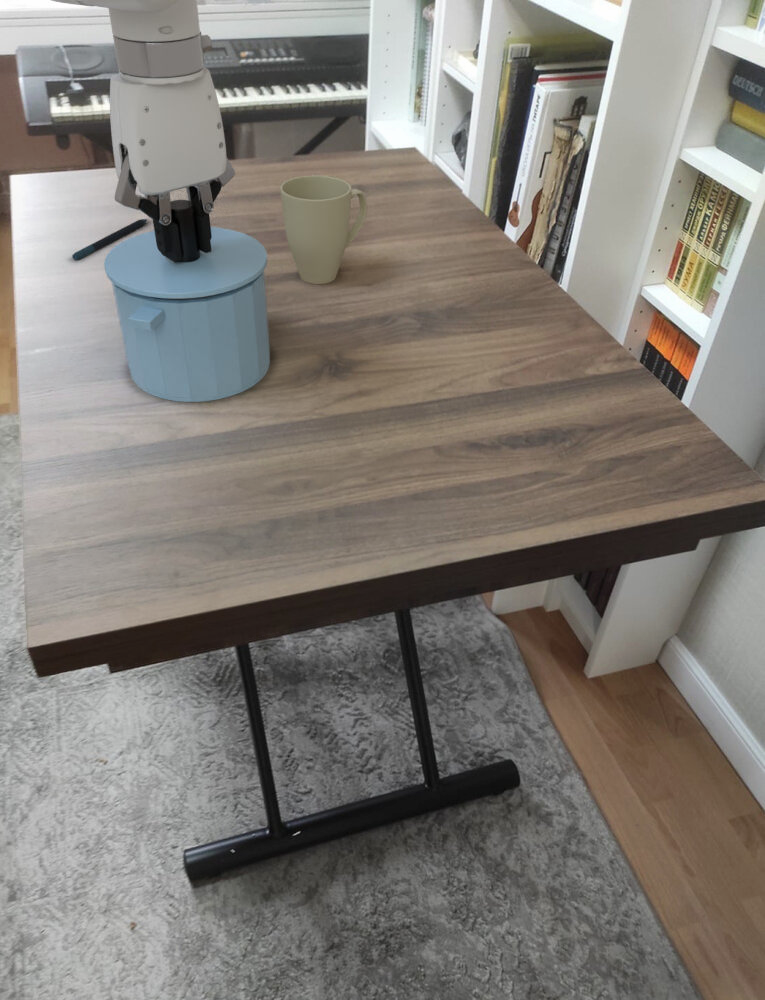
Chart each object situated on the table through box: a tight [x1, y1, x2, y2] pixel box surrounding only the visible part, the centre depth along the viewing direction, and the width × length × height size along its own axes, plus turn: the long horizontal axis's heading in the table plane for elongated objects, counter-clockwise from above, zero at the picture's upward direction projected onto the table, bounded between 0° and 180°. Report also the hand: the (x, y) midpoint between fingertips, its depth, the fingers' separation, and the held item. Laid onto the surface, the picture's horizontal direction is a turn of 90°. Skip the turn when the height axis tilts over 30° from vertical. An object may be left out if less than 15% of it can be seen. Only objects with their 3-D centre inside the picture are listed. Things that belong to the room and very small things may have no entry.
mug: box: [279, 174, 368, 285], centre depth 110 cm, size 11×10×12 cm
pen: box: [72, 218, 148, 261], centre depth 120 cm, size 1×16×1 cm, turn 153°
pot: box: [111, 270, 271, 403], centre depth 91 cm, size 16×21×12 cm
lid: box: [103, 199, 268, 299], centre depth 85 cm, size 17×17×7 cm
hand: (185, 251), depth 86 cm, fingers closed on lid, 2 cm apart
